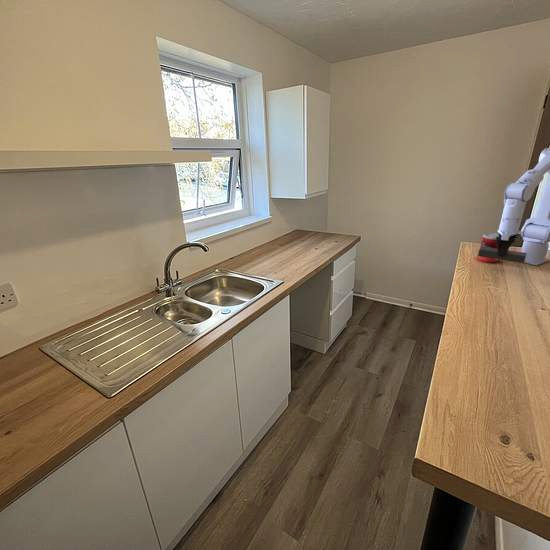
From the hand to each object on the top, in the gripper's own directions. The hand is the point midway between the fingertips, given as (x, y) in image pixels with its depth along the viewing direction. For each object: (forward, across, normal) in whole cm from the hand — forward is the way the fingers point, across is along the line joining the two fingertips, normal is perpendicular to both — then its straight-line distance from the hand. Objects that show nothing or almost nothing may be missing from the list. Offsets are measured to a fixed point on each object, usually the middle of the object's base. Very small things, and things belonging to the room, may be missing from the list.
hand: (502, 254), depth 112 cm
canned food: (+8, +16, +5) cm, 18 cm away
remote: (+1, 0, 0) cm, 1 cm away
